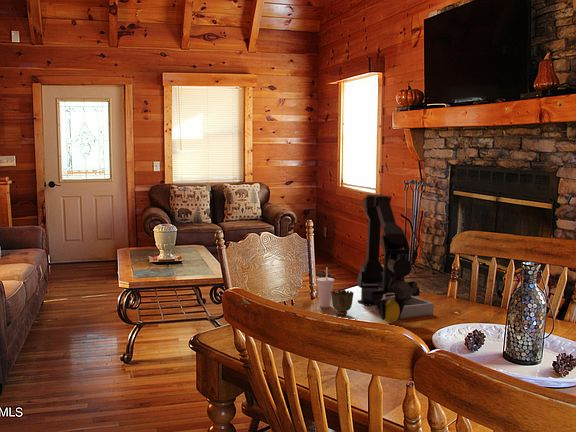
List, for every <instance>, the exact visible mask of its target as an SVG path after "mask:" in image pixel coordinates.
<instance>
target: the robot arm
mask: <svg viewBox="0 0 576 432" xmlns="http://www.w3.org/2000/svg"><path fill="white" fill-rule="evenodd" d="M362 207H363V212H364V214H365V216H366V218H367V231H366V232H367V233H366V256H365V257H366V258H365V260H364V261H363V262H362V264H361V265H360V266H361V268H360V271H359V274H358V276H357V278H356V284H357V287H359V288H361V291H360V293H361V295H360V296H361V297H360V299H358V300H357V303H358V304H359V303H360V304H361V305H365V306H367V307H369V306H374V305H375V306H377V309H378V310H377V311H378V313H379V316H380V318H381V320H383V321H384V320H385V307H386V303H387V302H388V300H386V299H385V297H389V296H395V302H397V303H398V305H399V309H400V314H399V317H400V315H401V313H402V310H403V308H404V305H405V304H406V302H407V301H408V300H410V299H412V297H411V296H414V297H420V296H421V295H420V294H421V289H420V288H419V286H418V282H417V281H415V280H411V281H405V277H407V276H408V275H410V273H411V271H412V266H413V265H412V263H411V261H410V260H409V259H407V258H406V257H407V255H408V256H409V255H410V249H411V248H410V245H409V241H408V240H409V239H408V238H407V235H406V234H405V232H404V230H403V228H402V227H401V226H399V225H398V224H397V221H396V219H395V218H396V217H395V216H394V212H393V208H392V206H391V197H390V196H388V195H385V194H366V195H365V197H363V198H362ZM381 230H382V232H381ZM380 247H381V249H382V253H383V265H382V264H381V262H380V250H381V249H380ZM378 287H380V288H381V289H383V290H379V288H378ZM387 292H390V293H387ZM399 317H398V318H399ZM385 321H386V320H385Z"/></svg>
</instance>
